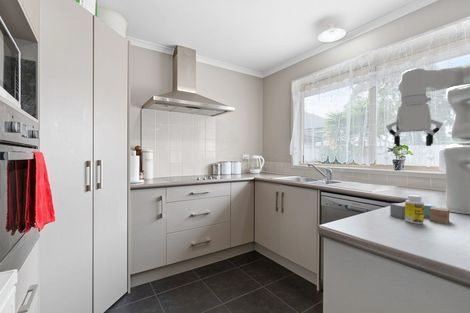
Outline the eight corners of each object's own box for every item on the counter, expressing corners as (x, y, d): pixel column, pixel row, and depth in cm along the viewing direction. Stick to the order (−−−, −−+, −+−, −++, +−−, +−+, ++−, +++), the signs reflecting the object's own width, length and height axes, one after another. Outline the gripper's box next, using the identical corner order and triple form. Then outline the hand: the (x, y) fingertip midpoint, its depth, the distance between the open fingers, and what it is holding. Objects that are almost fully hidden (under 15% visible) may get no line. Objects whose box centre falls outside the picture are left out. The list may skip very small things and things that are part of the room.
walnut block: (432, 218, 89) (432, 206, 89) (449, 221, 86) (449, 209, 85) (429, 221, 86) (429, 208, 86) (446, 224, 82) (447, 211, 82)
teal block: (418, 214, 97) (418, 202, 96) (433, 216, 94) (434, 204, 94) (419, 216, 92) (419, 204, 92) (435, 218, 90) (435, 206, 89)
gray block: (399, 214, 95) (399, 203, 95) (411, 217, 90) (411, 205, 90) (390, 215, 94) (390, 203, 94) (401, 218, 89) (401, 206, 89)
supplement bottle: (414, 224, 81) (415, 197, 81) (401, 220, 87) (401, 194, 87) (427, 224, 82) (428, 197, 82) (413, 219, 87) (414, 194, 87)
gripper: (438, 101, 85) (437, 146, 85) (384, 106, 92) (384, 146, 93) (446, 97, 78) (446, 145, 78) (388, 102, 86) (388, 146, 86)
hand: (412, 146), depth 85 cm, fingers open, 9 cm apart
